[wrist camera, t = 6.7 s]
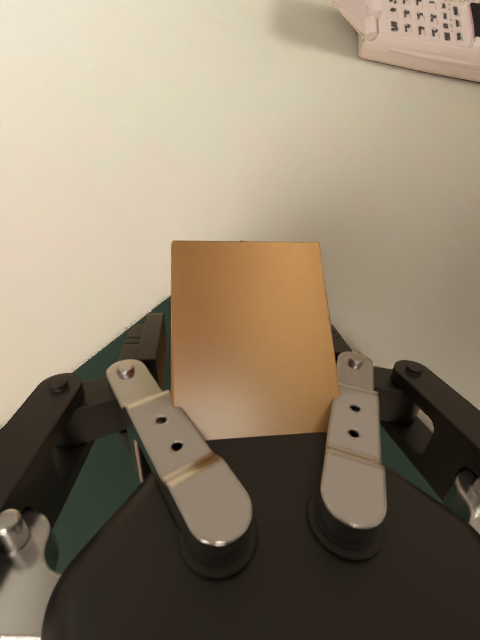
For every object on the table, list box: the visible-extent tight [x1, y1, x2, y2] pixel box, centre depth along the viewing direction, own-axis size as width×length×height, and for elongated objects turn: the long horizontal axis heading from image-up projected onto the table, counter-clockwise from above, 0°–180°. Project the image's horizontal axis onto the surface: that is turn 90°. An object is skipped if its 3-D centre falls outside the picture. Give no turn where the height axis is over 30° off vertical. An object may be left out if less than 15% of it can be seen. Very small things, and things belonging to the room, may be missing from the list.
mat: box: [0, 296, 443, 574], centre depth 17 cm, size 22×20×1 cm
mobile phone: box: [330, 0, 480, 82], centre depth 27 cm, size 6×6×25 cm
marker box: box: [171, 241, 340, 440], centre depth 14 cm, size 5×6×10 cm
